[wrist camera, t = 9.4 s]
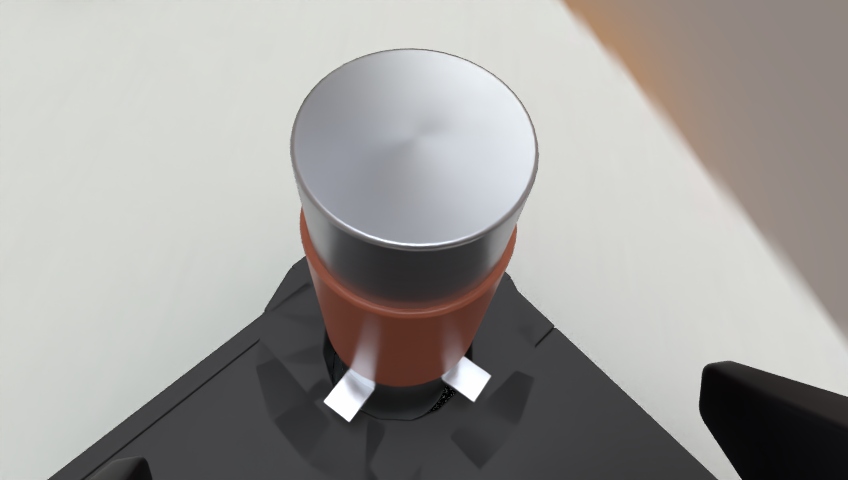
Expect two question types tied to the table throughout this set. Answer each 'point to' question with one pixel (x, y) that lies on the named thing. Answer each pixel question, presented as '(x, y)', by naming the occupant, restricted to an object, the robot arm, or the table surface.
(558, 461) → the grinder base
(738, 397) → the robot arm
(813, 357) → the table surface
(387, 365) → the silver-capped orange cylinder
